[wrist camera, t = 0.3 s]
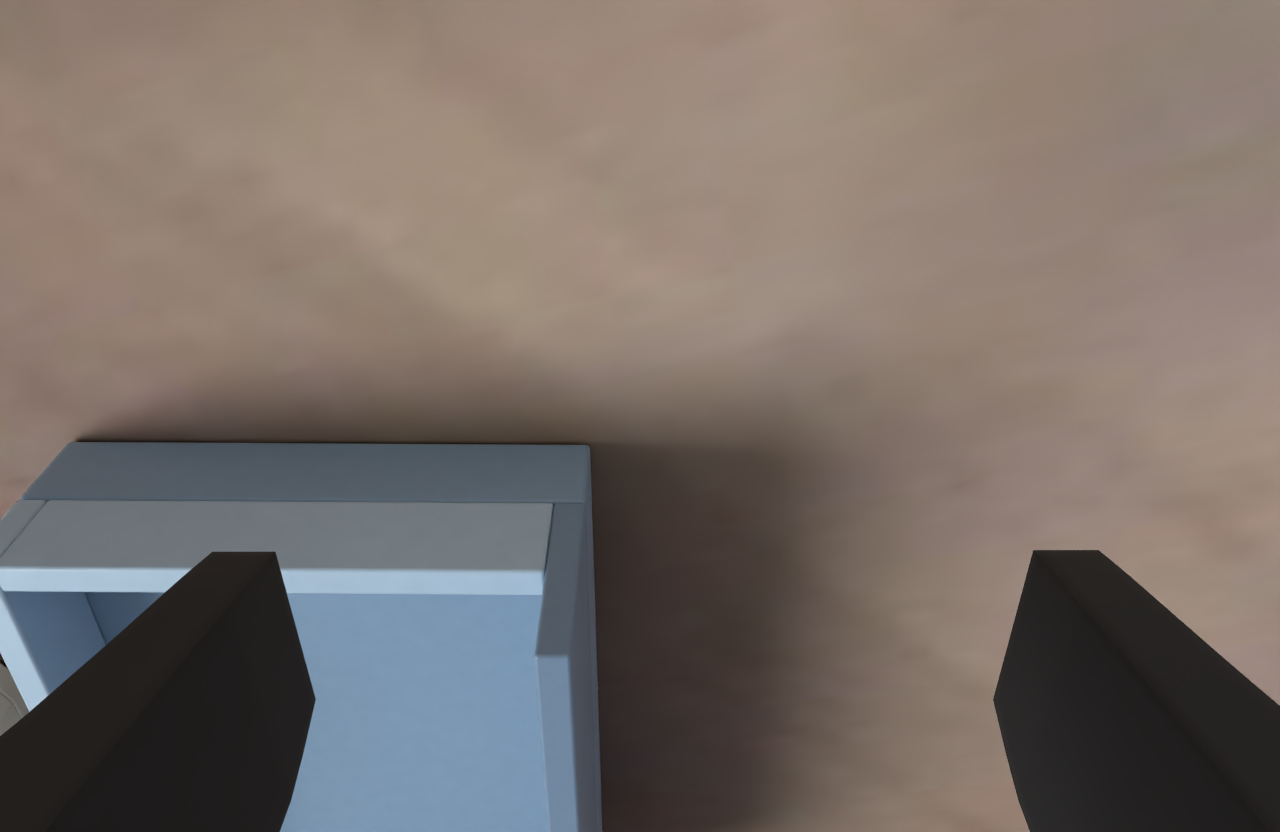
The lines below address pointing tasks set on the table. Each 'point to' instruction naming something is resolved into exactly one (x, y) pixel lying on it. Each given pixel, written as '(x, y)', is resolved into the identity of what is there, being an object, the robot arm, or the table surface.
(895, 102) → the table surface
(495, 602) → the light blue shelf
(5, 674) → the cup
